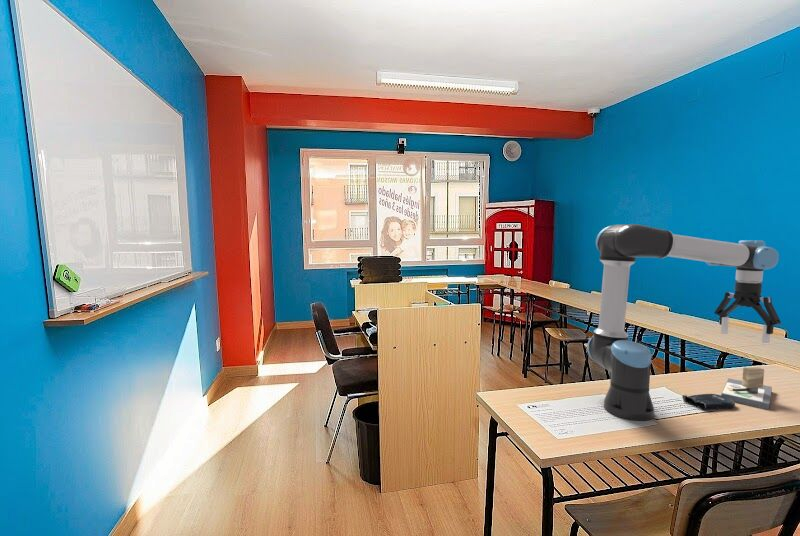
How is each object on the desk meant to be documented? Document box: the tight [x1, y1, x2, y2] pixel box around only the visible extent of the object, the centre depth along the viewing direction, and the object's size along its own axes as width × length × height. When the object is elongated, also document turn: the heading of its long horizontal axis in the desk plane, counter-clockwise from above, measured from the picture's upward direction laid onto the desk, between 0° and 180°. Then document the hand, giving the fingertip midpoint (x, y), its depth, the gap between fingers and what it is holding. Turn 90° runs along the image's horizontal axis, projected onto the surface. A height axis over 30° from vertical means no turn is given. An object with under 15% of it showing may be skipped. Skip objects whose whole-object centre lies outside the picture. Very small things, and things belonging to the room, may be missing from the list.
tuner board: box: [720, 377, 773, 410], centre depth 149 cm, size 22×13×2 cm, turn 135°
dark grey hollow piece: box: [681, 393, 736, 411], centre depth 141 cm, size 9×6×15 cm
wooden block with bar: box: [733, 366, 765, 394], centre depth 146 cm, size 3×10×9 cm, turn 93°
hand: (743, 337), depth 148 cm, fingers open, 13 cm apart
